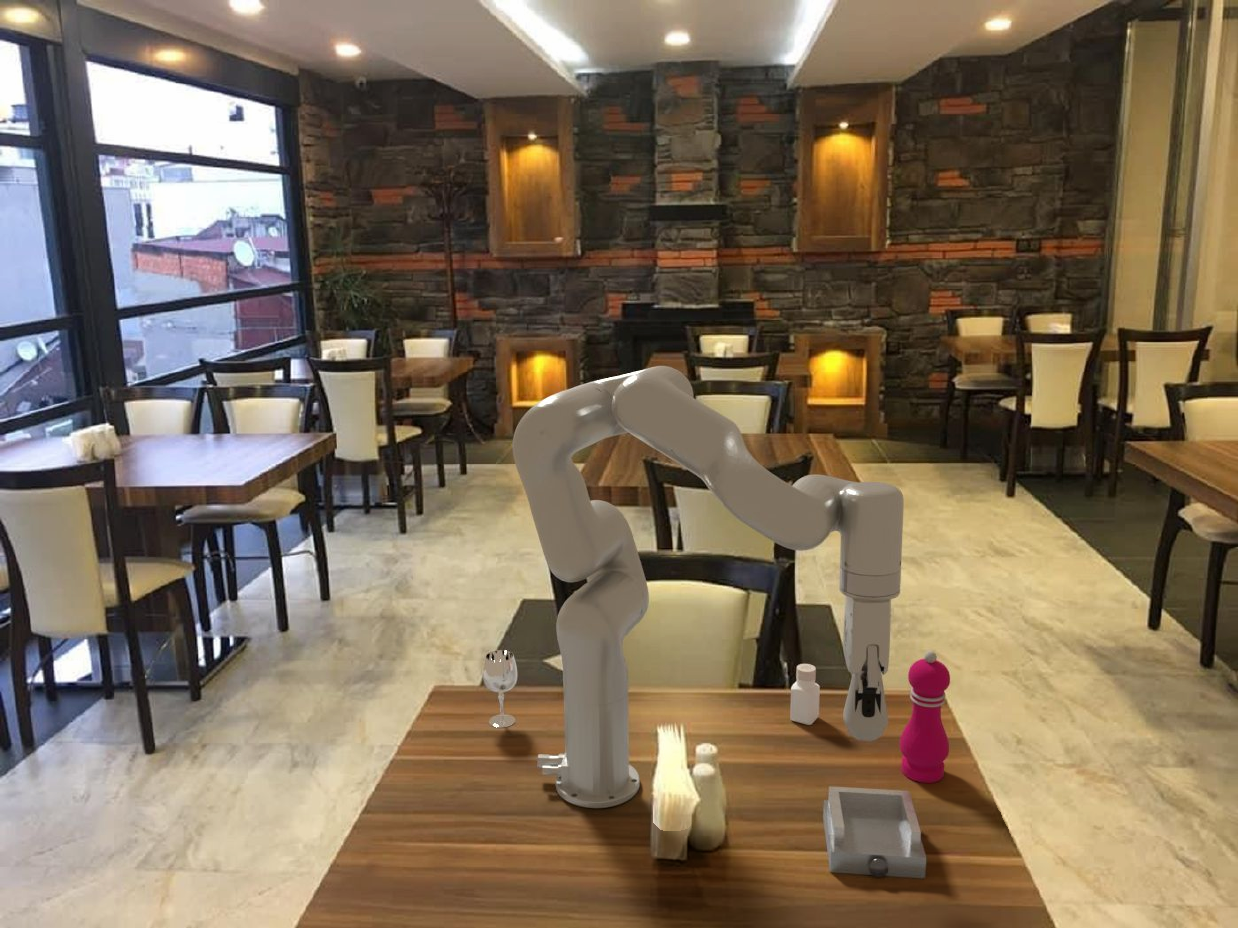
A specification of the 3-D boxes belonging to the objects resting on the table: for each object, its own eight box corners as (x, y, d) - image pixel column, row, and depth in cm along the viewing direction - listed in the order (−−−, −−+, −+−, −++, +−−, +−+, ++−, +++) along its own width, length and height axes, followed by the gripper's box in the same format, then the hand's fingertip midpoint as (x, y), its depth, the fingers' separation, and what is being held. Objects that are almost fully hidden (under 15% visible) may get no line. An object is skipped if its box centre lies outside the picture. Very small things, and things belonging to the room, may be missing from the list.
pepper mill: (909, 754, 158) (917, 637, 154) (954, 770, 154) (963, 649, 149) (890, 774, 153) (897, 653, 148) (935, 790, 149) (945, 666, 144)
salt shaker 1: (819, 717, 171) (821, 665, 168) (811, 727, 167) (813, 674, 165) (797, 711, 173) (799, 660, 170) (788, 721, 169) (790, 669, 167)
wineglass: (482, 715, 172) (479, 651, 169) (515, 710, 174) (512, 646, 171) (488, 731, 167) (485, 665, 164) (522, 726, 168) (519, 660, 166)
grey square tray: (830, 875, 130) (832, 838, 128) (823, 818, 142) (824, 783, 141) (926, 882, 128) (928, 844, 127) (910, 823, 141) (912, 788, 139)
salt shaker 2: (888, 746, 128) (892, 652, 125) (842, 742, 130) (845, 649, 127) (886, 724, 134) (889, 634, 131) (842, 721, 135) (845, 631, 132)
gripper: (834, 558, 135) (831, 683, 140) (845, 603, 120) (842, 742, 124) (891, 559, 134) (886, 685, 139) (910, 604, 119) (904, 745, 123)
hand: (865, 711), depth 131 cm, fingers closed on salt shaker 2, 3 cm apart
